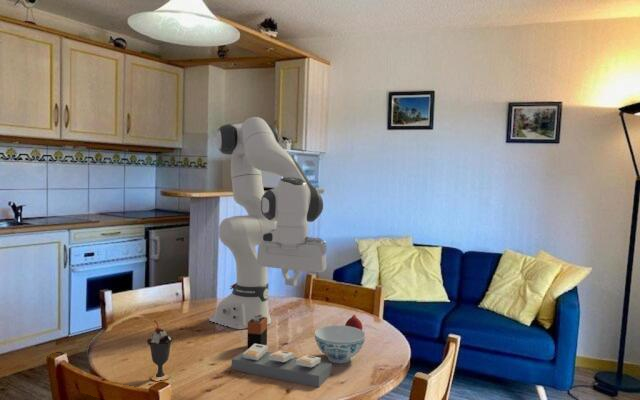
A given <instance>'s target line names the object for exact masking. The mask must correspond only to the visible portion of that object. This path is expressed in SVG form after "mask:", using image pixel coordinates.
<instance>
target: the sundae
mask: <svg viewBox="0 0 640 400" xmlns="http://www.w3.org/2000/svg"><path fill="white" fill-rule="evenodd" d="M153 322H154V323H155V324H156V325H157V327H156V328H155V329H154V333H153V334H152V335H151V337H150V338H148V339H146V343H147V345H148V346H150V354H151V360H152V362H153V363H154V364H155V365H156V366H157V373H155V374H156V377H162V376H164V375H165V374H164V373H165V372H164V371H163V367H164V364H165V363H167V362H168V360H169V358H170V357H169V356H170V353H171V352H170V351H171V346H172V345H171V344H172V342H173V341H174V338H173V337H172V336H169V335H168V334H167V331H165V329H162V328H160V327H159V323H158V322H157V321H156V320H154V321H153Z"/></svg>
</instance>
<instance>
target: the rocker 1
mask: <svg viewBox="0 0 640 400" xmlns="http://www.w3.org/2000/svg"><path fill="white" fill-rule="evenodd" d="M246 350H247V349H246ZM246 350H245V351H246ZM243 352H244V351H243ZM266 352H269V345H268V344H267V345H261V344H253V345H252V346H251V347H250V348H249V349H248V350H247V351H246V352H244V353H243V358H247V359H252V360H258V359H259V358H260V357H262V356H263V354H265V353H266Z"/></svg>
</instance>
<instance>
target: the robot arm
mask: <svg viewBox="0 0 640 400" xmlns="http://www.w3.org/2000/svg"><path fill="white" fill-rule="evenodd" d="M215 140H216V145H217V147H218V150H219V152H220V153H222V154H224V155H229V156H231V161H230V177H231V186H232V187H231V188H232V195H233V200H234V201H235V203H236V204H238V205H239V206H241V207H243V208H244V209H245V211H246V212H247V215H246V214H245V215H234V216H230V217H227V218H224V219H222V221H221V222H220V224H219V226H218V238H219V239H220V241H221V243H222V244H223V245H224V246H225V247H227V248H228V249H229V251H230V252H231V253H232V256H233V257H234V261H235V264H236V265H235V266H236V283H234V284H233V285H229V287H230V288H229V289H230V290H232V292H231V293H230V294H229V295H227V296H226V297H224V298H223V299H222V300H221V301H219V303H218V304H217V306H216V310H215V311H216V312H215V314H213V315H211V316H210V317H209V321H212V322H215V323H214V324H216V323H218V324H217V325H220V324H221V325H220V326H223V325H224V327H227V326H228V327H229V328H232V329H235V330H243V329H248V322H249V321H250V320H251V319H252V318H254V317H255V316H257V315H262V317H267V326H268V325H270V324H271V323H272V319H271V316H270V309H269V292H270V291H269V289H270V287H269V283H268V277H269V276H268V269H269V268H273V269H281V274H282V276H283V278H284V281H285V282H284V285H285V286H293V287H294V286H297V285H298V278H299V277H300V276H301V273H302V271H303V272H311V273H322V272H324V271H325V270H326V269H327V256H326V255H327V254H326V253H327V242H326V241H325V240H323V238H320V237H316V238H315V237H312V236H311V237H309V234H308V233H309V227H308V226H309V223H310V222H311V223H312V222H315V221H316V220H317V219H318V218H319V217H320V216H321V214H322V213H323V210H324V202H323V197H322V196H321V194H320V192H319V191H318V190H317V188H315V187H314V186H313V184H311V181H310V180H309V179H308V177H307V176H306V174H305V172H304V170H303V168H301V166H300V164H299V162H297V160H296V159H295V157H294V156H293V155H291V154H290V153H288V152H287V151H286V150H285V149H284V148H283V147H282V146H281V145H280V144H279V141H280V136H279V130H278V129H277V127H276V125H274V124H271V123H267V122H266V121H265V119H263V118H262V117H258V116H253V117H249V118H247V119H246V120H244V121H243V122H242V123H235V124H231V123H228V124H224V125H221V126H220V127H219V128H218V130H217V134H216V139H215ZM262 172H266V173H270V174H275V175H277V176H280V177H282V178H280V179H279V180H278V183H277V185H276V186H274V187H273V188H271V189H268V190H266V191H265V190H264V189H265V188H264V182H263V175H262ZM308 222H309V223H308ZM256 246H258V248H257V252H256ZM290 270H293V272H292V273H293V277H290V275H289V272H290ZM212 322H211V323H212Z"/></svg>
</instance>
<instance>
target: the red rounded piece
mask: <svg viewBox="0 0 640 400" xmlns="http://www.w3.org/2000/svg"><path fill="white" fill-rule="evenodd" d="M344 326H350V327H355V328H358V329H360V330H362V331H363V323H362V321H361V319H359V318H358V317H357V315H356V314H352V315H351V317H350V318H348V319H347V321H346V323H345V325H344Z"/></svg>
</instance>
